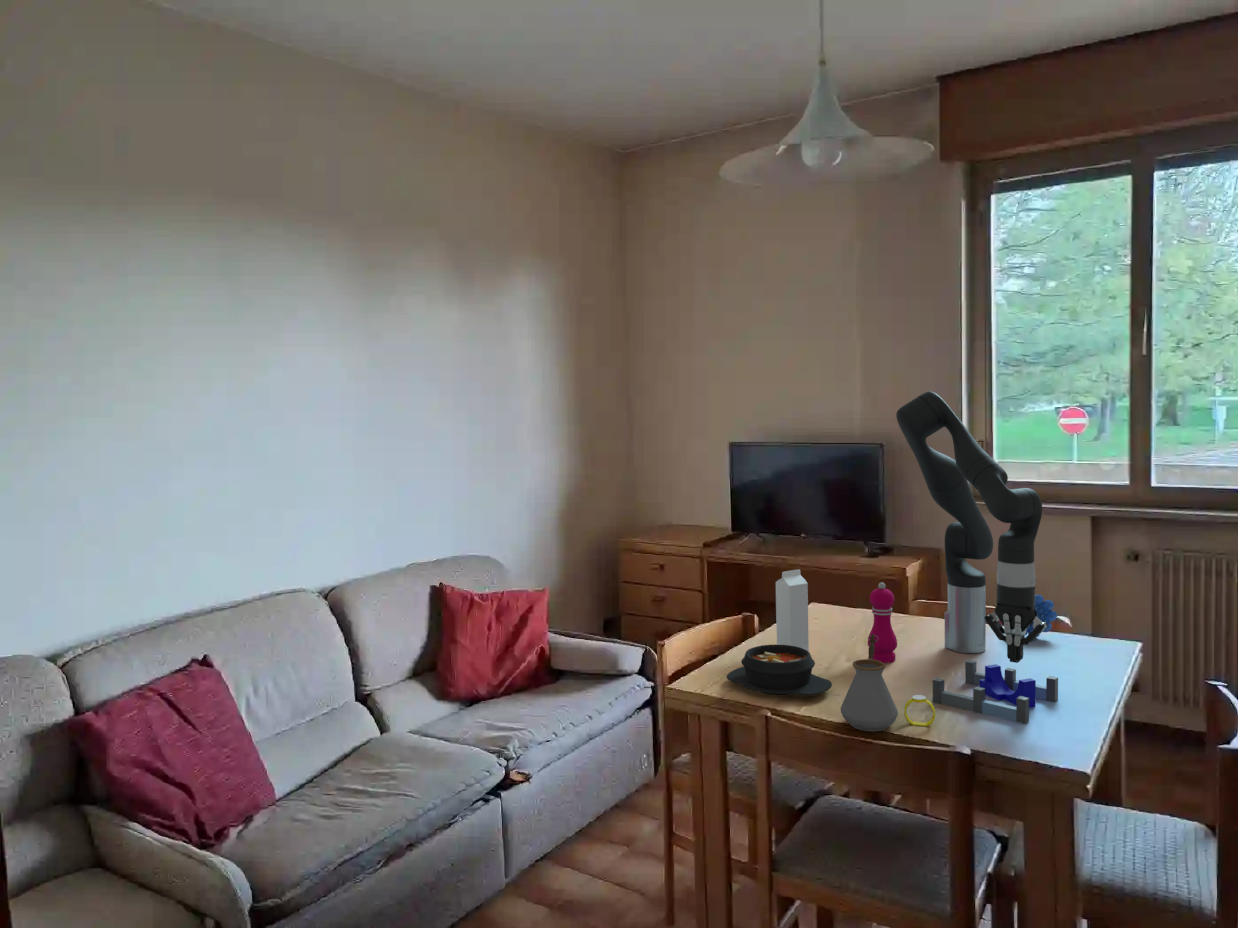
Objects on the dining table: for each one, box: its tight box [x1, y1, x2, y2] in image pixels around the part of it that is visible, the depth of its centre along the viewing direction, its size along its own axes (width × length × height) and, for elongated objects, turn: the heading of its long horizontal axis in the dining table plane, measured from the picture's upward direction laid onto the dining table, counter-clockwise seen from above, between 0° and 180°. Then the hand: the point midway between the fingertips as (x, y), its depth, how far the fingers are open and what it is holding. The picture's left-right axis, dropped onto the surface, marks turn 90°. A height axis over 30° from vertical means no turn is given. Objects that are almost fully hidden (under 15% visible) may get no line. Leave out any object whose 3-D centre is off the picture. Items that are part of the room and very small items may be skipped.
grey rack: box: [932, 659, 1059, 725], centre depth 193 cm, size 20×18×5 cm
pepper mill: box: [867, 582, 898, 664], centre depth 224 cm, size 7×7×20 cm
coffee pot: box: [840, 634, 899, 732], centre depth 187 cm, size 21×12×15 cm, turn 160°
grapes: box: [1025, 594, 1058, 636], centre depth 239 cm, size 12×7×12 cm, turn 69°
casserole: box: [726, 644, 833, 697], centre depth 206 cm, size 25×19×8 cm
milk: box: [775, 568, 810, 653], centre depth 232 cm, size 6×6×22 cm
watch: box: [903, 694, 936, 727], centre depth 181 cm, size 6×3×6 cm, turn 71°
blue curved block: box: [979, 664, 1037, 709], centre depth 194 cm, size 12×4×6 cm, turn 17°
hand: (1015, 661), depth 189 cm, fingers closed
